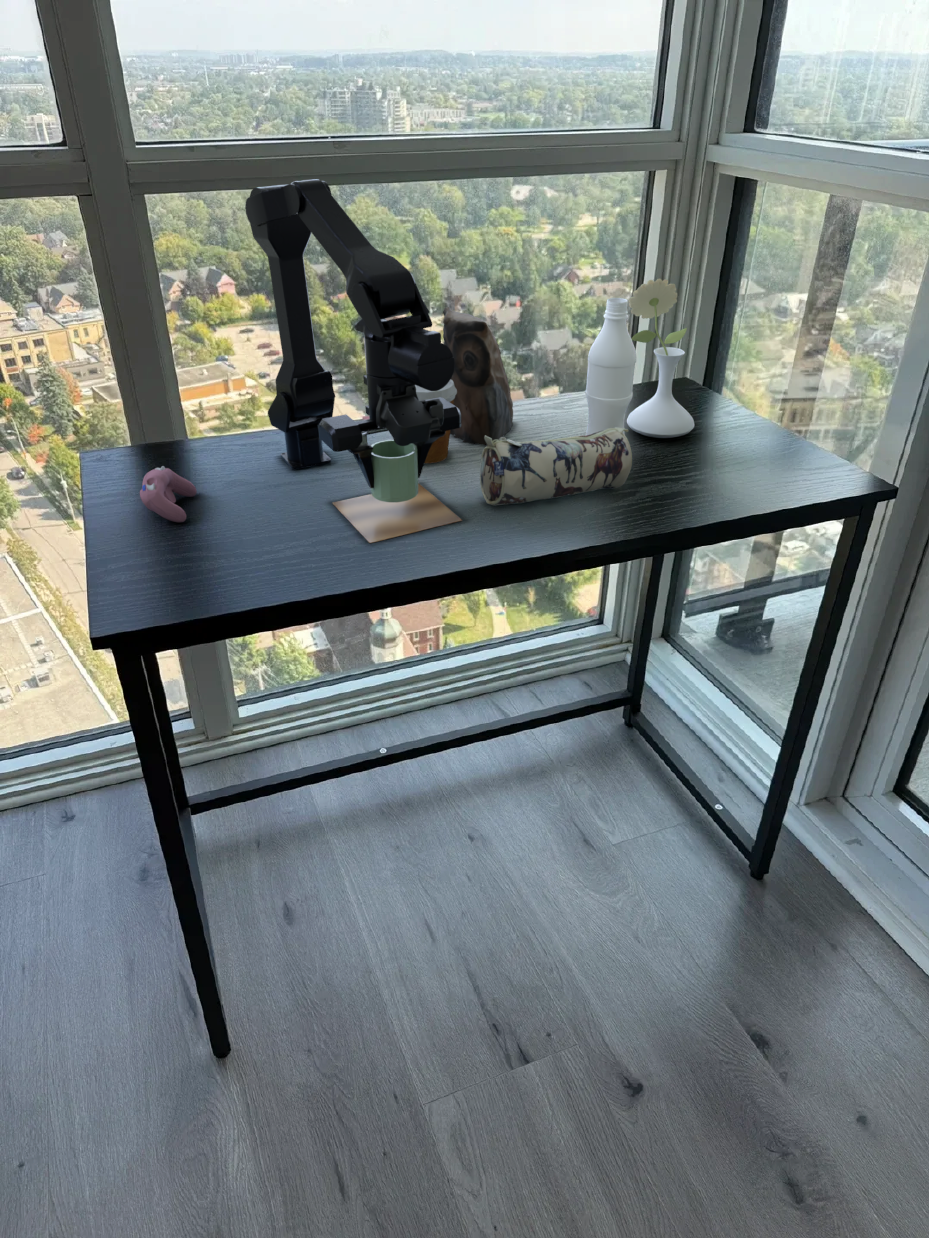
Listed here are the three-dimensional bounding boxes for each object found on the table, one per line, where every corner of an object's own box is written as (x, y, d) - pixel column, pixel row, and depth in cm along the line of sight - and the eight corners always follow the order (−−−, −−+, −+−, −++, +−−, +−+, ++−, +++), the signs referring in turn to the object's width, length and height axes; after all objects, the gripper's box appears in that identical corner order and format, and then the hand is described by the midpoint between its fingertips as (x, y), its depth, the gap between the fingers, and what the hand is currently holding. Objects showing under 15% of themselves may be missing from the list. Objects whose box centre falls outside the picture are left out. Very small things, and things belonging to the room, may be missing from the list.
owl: (496, 450, 142) (498, 326, 131) (424, 441, 145) (420, 319, 134) (516, 423, 152) (520, 306, 141) (448, 416, 155) (447, 300, 144)
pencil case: (494, 517, 121) (495, 451, 116) (475, 492, 128) (475, 429, 123) (634, 496, 127) (641, 433, 122) (609, 474, 134) (615, 413, 128)
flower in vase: (693, 423, 152) (715, 273, 138) (692, 447, 143) (716, 289, 129) (618, 417, 154) (633, 269, 141) (613, 440, 145) (628, 285, 131)
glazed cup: (364, 488, 122) (360, 445, 119) (406, 479, 125) (404, 436, 121) (382, 506, 118) (380, 461, 114) (426, 496, 120) (425, 452, 117)
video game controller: (175, 504, 129) (144, 466, 125) (200, 490, 128) (170, 451, 124) (161, 535, 120) (128, 495, 117) (188, 521, 119) (156, 480, 116)
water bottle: (574, 468, 135) (586, 303, 122) (586, 452, 141) (599, 292, 127) (619, 475, 133) (636, 308, 119) (629, 458, 139) (647, 297, 125)
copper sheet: (332, 503, 125) (332, 502, 125) (418, 484, 131) (418, 483, 131) (369, 543, 115) (369, 542, 115) (462, 520, 120) (462, 520, 120)
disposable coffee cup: (450, 470, 135) (449, 395, 128) (391, 465, 137) (387, 391, 130) (462, 447, 143) (462, 375, 136) (407, 443, 144) (404, 372, 138)
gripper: (344, 401, 102) (353, 519, 111) (481, 377, 110) (480, 490, 118) (311, 375, 110) (323, 487, 119) (441, 355, 118) (443, 461, 126)
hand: (394, 482), depth 120 cm, fingers closed on glazed cup, 6 cm apart
